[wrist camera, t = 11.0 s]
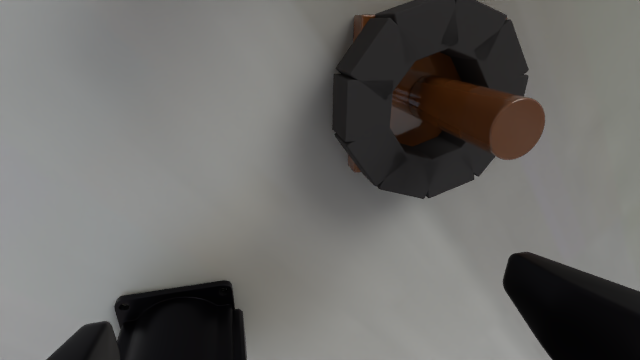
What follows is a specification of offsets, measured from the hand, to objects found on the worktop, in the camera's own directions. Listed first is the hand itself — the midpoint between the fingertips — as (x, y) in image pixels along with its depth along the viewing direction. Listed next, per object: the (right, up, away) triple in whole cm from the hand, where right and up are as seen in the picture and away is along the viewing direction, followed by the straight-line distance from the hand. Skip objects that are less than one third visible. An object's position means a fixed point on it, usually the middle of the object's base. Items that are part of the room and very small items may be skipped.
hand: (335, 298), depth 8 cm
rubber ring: (+5, +7, +11) cm, 14 cm away
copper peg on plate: (+5, +8, +12) cm, 15 cm away
